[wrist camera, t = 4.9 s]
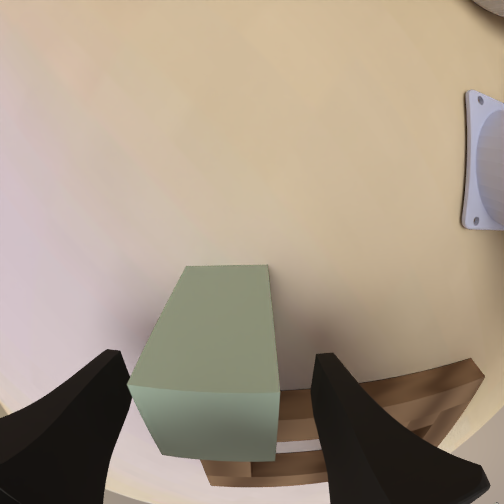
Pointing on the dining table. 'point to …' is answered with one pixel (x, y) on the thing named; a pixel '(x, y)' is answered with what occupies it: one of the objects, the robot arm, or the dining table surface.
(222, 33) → the dining table surface
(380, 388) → the socket board
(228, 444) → the peg
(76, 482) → the robot arm
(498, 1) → the ramekin
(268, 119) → the dining table surface
